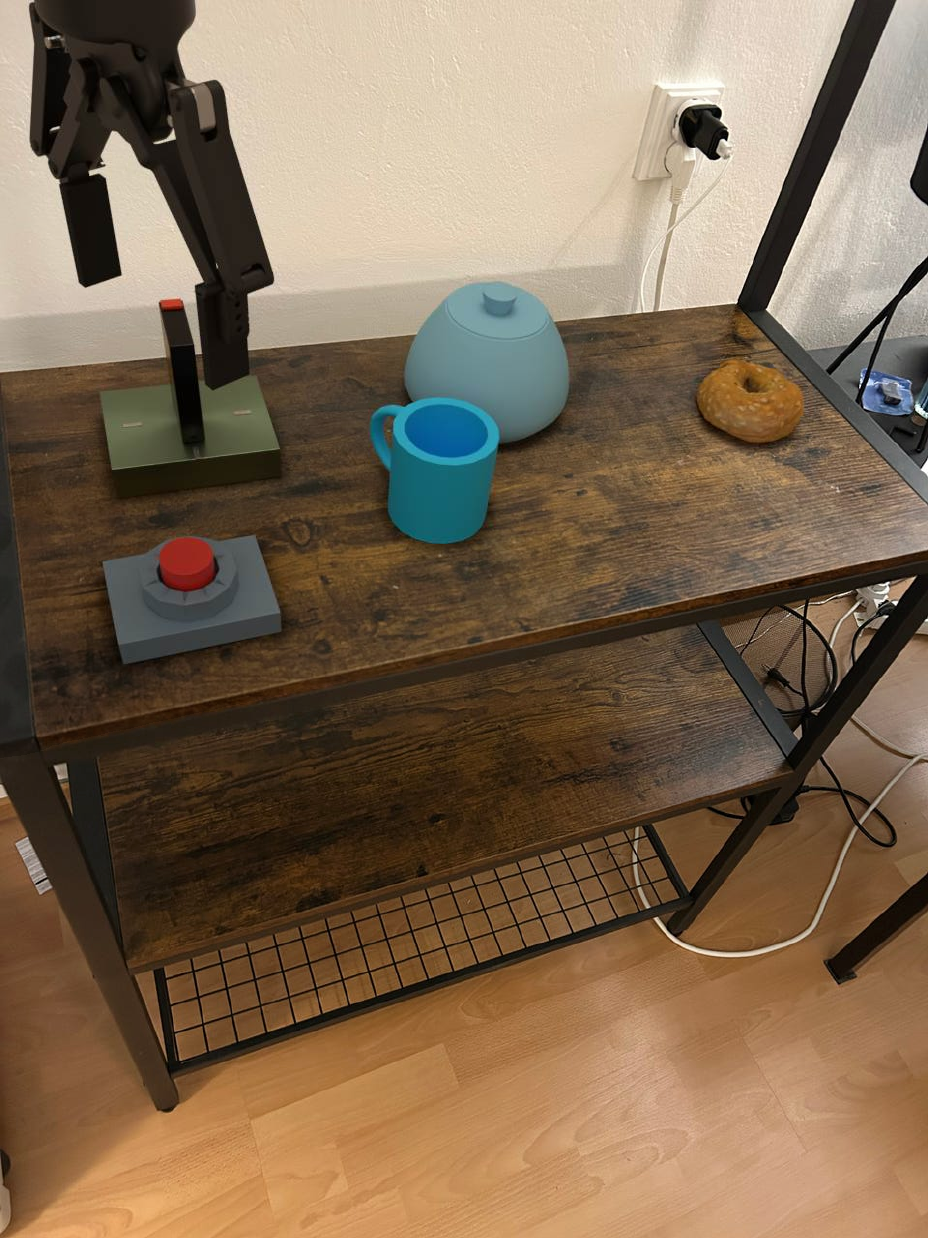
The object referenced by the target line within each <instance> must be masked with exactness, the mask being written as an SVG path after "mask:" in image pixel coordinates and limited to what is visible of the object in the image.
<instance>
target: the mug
mask: <svg viewBox="0 0 928 1238" xmlns="http://www.w3.org/2000/svg"><path fill="white" fill-rule="evenodd" d="M388 417H395V418H394V420H393V424H392V425H393V426H392V439H391V440H392V441H391V449H390V447H389V445H388V442H387V440H386V437H385V433H384V423H385V420H386V419H387V418H388ZM369 436H370V440H371V442H372V446H373V448H374V451H375V453H376V455H377V456H378V458H379V460H380V461H381V464H382V465H383V466H384V467H385V469H386V470H387V471H388V472H389V481H388V482H389V483H388V496H387V513H388V515H389V517H390V520H391V521H392V522H391V523H393V524H394V525H395V526H396V528H397V529H399V531H401V533H403V534H405V535H407V536H409V537H411V538H412V539H415V540H418V541H422V542H424V543H429V544H443V545H448V544H452V543H458V542H462V541H464V540H466V539H468V538H470V537H473V536H474V535H475V534H477V532H478V531H479V530H480V529H481V528H482V527H483V525H484V522H485V520H486V517H487V511H488V506H489V499H490V494H491V488H492V483H493V479H494V472H495V466H496V460H497V455H498V449H499V444H498V443H499V431H498V427H497V425H496V424H495V422H494V420H493V419H492V417H490V416H489V415H488V414H487V413H486V412H485V411H483V410H482V409H481V408H479V407H477V406H475V405H473V404H471V403H469V402H465V401H461V400H457V399H453V398H439V397H436V398H428V399H421V400H419V401H416V402H414V403H413V402H411V403H408V404H407V405H406V406H402V405H398V404H388V405H384V406H381V407H379V408H378V409H377V410H376V411H375V412H374V413H373V414H372V415H371V419H370V423H369Z"/></svg>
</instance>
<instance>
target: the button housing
mask: <svg viewBox="0 0 928 1238" xmlns="http://www.w3.org/2000/svg"><path fill="white" fill-rule="evenodd" d="M183 537H192V538H198V539H200V540H203V541H204V542H206V543H207V544H208V545H209V546H210V547H211V549H212V551H213V558H214V566H215V575H214V577H213V579H212V581H211V582H210V583H209V584H208V585H207V586H205V587H203V588H201V589H199V590H194V591H188V592H184V591H178V590H175V589H172V588H170V587H169V586H168V585H167V584H166V583H165V582H164V581H163V578H162V574H161V568H160V563H159V553H160V551H161V549H162V548H163V547H164V546H165V545H166V544H167V543H169V542H170V541H172V540H175V539H178V538H183ZM258 542H259V541H258V539H257V536H256V534H252V535H245V536H240V537H233V538H229V539H224V540H223V539H222V540H216V539H213V538H208V537H204V536H203V537H202V536H197V535H185V536H179V537H173V538H168V539H166V540H164V541H163V542H161V543H160V544H158V545H156V546H155V547H153V548H151V549H150V550H148V551H147V552H146V553H143V554H135V555H133V556H125V557H121V558H114V559H109V560H108V559H107V560H104V561H102V562H101V563H102V568H103V573H104V578H105V583H106V589H107V593H108V599H109V604H110V609H111V614H112V619H113V624H114V625H113V626H114V630H115V636H116V640H117V645H118V649H119V653H120V657H121V661H122V664H123V665H130V664H134V663H138V662H143V661H147V660H152V659H158V658H162V657H167V656H173V655H176V654H177V655H178V654H181V653H186V652H191V651H195V650H200V649H206V648H209V647H215V646H220V645H226V644H229V643H234V642H239V641H244V640H248V639H249V640H250V639H254V638H259V637H264V636H268V635H273V634H278V633H282V629H283V628H282V612H281V609H280V606H279V603H278V600H277V596H276V594H275V590H274V587H273V584H272V582H271V578H270V576H269V572H268V570H267V567H266V563H265V559H264V558H263V555H262V551H261V548H260V546H259V543H258Z"/></svg>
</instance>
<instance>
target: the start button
mask: <svg viewBox="0 0 928 1238" xmlns="http://www.w3.org/2000/svg"><path fill="white" fill-rule="evenodd" d="M182 537H183V538H179V537H177V538H178V539H175V540H172V541H170V542H169V543H167V544H166V545H165V546H164V547H163V548H162V549H161V551H160V553H159V563H160V568H161V574H162V578H163V581H164V582H165V583H166V584H167V585H168V586H169V587H170V588H172V589H175V590H178V591H184V592H188V591H194V590H199V589H201V588H203V587H205V586H207V585H208V584H209V583H210V582H211V581H212V579H213V577H214V575H215V566H214V558H213V551H212V549H211V547H210V546H209V545H208V544H207V543H206V542H204V541H203V540H200V539H198V538H192V537H185V536H182Z"/></svg>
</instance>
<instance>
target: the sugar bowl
mask: <svg viewBox="0 0 928 1238" xmlns="http://www.w3.org/2000/svg"><path fill="white" fill-rule="evenodd" d="M561 336H562V335H560V332H559V330H558V327H557V326H556V323H555V321H554V319H553V316H552V314H551V313H550V311H549V310H548V308H547V306H546V305H545V304H544V303H543V302H542V301H541V300H540V298H538V297H537V296H535V295H534V294H533V293H531V292H529V291H527V290H525V289H523V288H521V287H518V286H515V285H512V284H510V283H508V282H505V281H495V280H494V281H481V282H474V283H469V284H466V285H465V284H464V285H463V286H460V287H458V288H457V289H455V290H453V291H452V292H451V293H450V294H449V295H448V296H447V297H445V298H444V299H443V300H442V301H441V302H440V304H439V305H437V307H436V308H435V309H434V310H433V311H432V312H431V313H430V315H429V316H428V317H427V318H426V320H425V321H424V322H423V323H422V325H421V326H420V328H419V330H418V331H417V333H416V334H415V337H414V339H413V341H412V343H411V346H410V348H409V351H408V355H407V357H406V361H405V365H404V372H403V373H404V374H403V381H404V386H405V389H406V392H407V394H408V397H409V399H410V400H411V403H414V402H416V401H419V400H421V399H428V398H436V397H439V398H453V399H457V400H461V401H465V402H469V403H471V404H473V405H475V406H477V407H479V408H481V409H482V410H483V411H485V412H486V413H487V414H488V415H489V416H490V417H492V419H493V420H494V422H495V424H496V425H497V427H498V431H499V443H498V445H501V444H508V443H514V442H518V441H521V440H523V439H526V438H528V437H530V436H532V435H534V434H536V433H539V432H540V431H542V430H543V429H545V428H547V427H548V426H549V425H551V424H552V423H554V421H555V420H556V419H557V418H558V417H559V416H560V414H561V413H562V411H563V410H564V408H565V406H566V403H567V400H568V396H569V387H570V372H569V371H570V369H569V361H568V356H567V351H566V348H565V344H564V342H563V339H562V337H561Z"/></svg>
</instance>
